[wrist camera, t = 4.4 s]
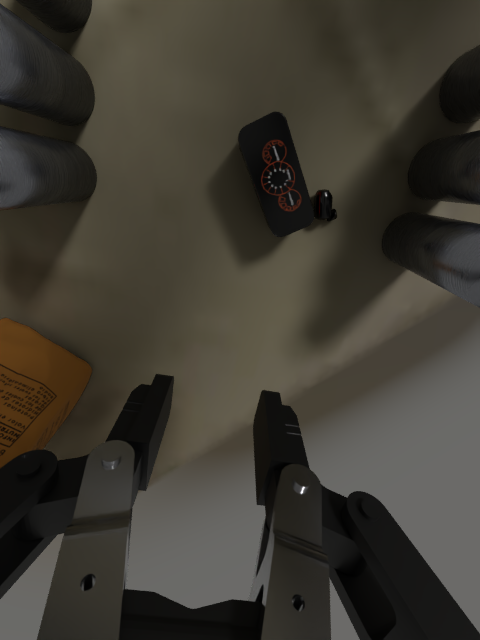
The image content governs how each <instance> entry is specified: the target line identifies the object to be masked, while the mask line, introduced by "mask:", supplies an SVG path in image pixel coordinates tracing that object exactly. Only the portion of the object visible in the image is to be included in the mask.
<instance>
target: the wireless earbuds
mask: <svg viewBox="0 0 480 640" xmlns="http://www.w3.org/2000/svg"><path fill="white" fill-rule="evenodd" d="M238 141H239V148H240V151H241V154H242V156H243V159H244V162H245V165H246V167H247V170H248V173H249V175H250V178H251V181H252V184H253V186H254V189H255V192H256V194H257V197H258V200H259V203H260V205H261V208H262V211H263V213H264V216H265V219H266V222H267V224H268V226H269V228H270V230H271V231H272V233H273V234H274V235H275V236H277V237H283V236H286V235H288V234H291V233H293V232H295V231H298V230H300V229H302V228H305V227H307V226H309V225H310V224H311V223H312V222H313V220H314V217H315V218H316V219H319V220H325V219H327V221H332V220H334V219H336V218H337V212H336V210H335V209H332V195H331V193H330V192H329V190H325V189H324V190H318V191H317V193H316V195H315V197H314V210H313V207H312V204H311V200H310V197H309V194H308V190H307V187H306V184H305V180H304V177H303V174H302V170H301V167H300V164H299V160H298V157H297V153H296V150H295V147H294V143H293V140H292V137H291V133H290V130H289V127H288V123H287V120H286V118H285V116H284V115H283V114H282V113H280V112H272V113H270V114H268V115H266V116H264V117H262V118H260V119H258V120H256V121H254V122H252V123H250V124H248V125H246V126H245V127H243V128H242V129H241V131H240V133H239V137H238Z"/></svg>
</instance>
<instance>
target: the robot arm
mask: <svg viewBox="0 0 480 640" xmlns="http://www.w3.org/2000/svg"><path fill="white" fill-rule="evenodd" d="M173 384H174V376H168V375H161V374H156V375H155V378H154V380H153V382H152V384H151V385H145V384H141V385H139V386H138V387H137V388H136V389H134V390H133V391H132V392H131V394H130V396H129V398H128V400H127V403H126V404H125V405H124V407H123V410H122V411H121V413H120V415H119V417H118V419H117V421H116V423H115V425H114V426H113V428H112V430H111V432H110V434H109V436H108V438H107V440H106V441H105V442H104V443H102V444H100V445H98V446H97V447H95V448H94V449H93V450H92V452H91V453H90V454H89V455H86V456H83V457H78V458H72V459H66V460H59V461H57V458H56V456H55V455H54V454H53V453H52V452H50V451H47V450H32V451H28V452H25V453H23V454H20V455H18V456H17V457H15V458H13V459H12V460H11V461H9V462H8V463H7V464H5V465H4V466H3V467H1V468H0V599H1V598H2V597H3V595H4V594H5V593H6V592H7V591H8V590H9V589H10V588H11V586H12V585H13V584H14V583H15V582H16V581H17V580H18V579H19V577H20V576H21V575H22V574H23V573H24V572H25V571H26V570H27V568H28V567H29V566H30V565H31V564H32V563H33V562H34V561H35V559H36V558H37V557H38V556H39V555H40V554H41V553H42V552H43V550H44V549H45V548H46V547H47V546H48V545H49V544H50V542H51V541H52V540H53V539H54V538H55V537H56V536H57V535H58V534H62V533H64V536H63V540H62V544H61V548H60V551H59V555H58V559H57V563H56V567H55V571H54V575H53V578H52V582H51V586H50V590H49V594H48V598H47V602H46V606H45V609H44V614H43V617H42V621H41V625H40V629H39V633H38V637H37V640H331V624H330V623H331V622H330V584H329V583H330V581H329V577H330V579H331V581H332V583H333V585H334V587H335V589H336V591H337V593H338V596H339V597H340V600H341V602H342V604H343V606H344V608H345V610H346V612H347V614H348V616H349V618H350V620H351V622H352V624H353V626H354V628H355V630H356V632H357V634H358V637H359V638H360V640H480V634H479V632H478V631H477V630H476V628H475V627H474V625H473V624H472V623H471V621H470V620H469V619H468V618H467V616H466V615H465V613H464V612H463V611H462V609H461V608H460V607H459V605H458V604H457V603H456V601H455V600H454V599H453V597H452V596H451V595H450V593H449V592H448V591H447V589H446V588H445V587H444V585H443V584H442V583H441V581H440V580H439V579H438V577H437V576H436V575H435V573H434V572H433V571H432V569H431V568H430V567H429V565H428V564H427V563H426V561H425V560H424V559H423V557H422V556H421V555H420V553H419V552H418V550H417V549H416V548H415V547H414V545H413V544H412V542H411V541H410V540H409V539H408V537H407V536H406V535H405V533H404V532H403V530H402V529H401V528H400V526H399V525H398V524H397V522H396V521H395V520H394V518H393V517H392V516H391V514H390V513H389V512H388V510H387V509H386V508H385V506H384V505H383V504H382V503H381V502H380V501H379V500H378V499H376V498H375V497H374V496H372V495H370V494H368V493H365V492H361V491H356V492H353V493H351V494H350V495H349V496H348V498H346V497H344V496H342V495H340V494H337V493H335V492H333V491H331V490H329V489H327V488H325V487H324V486H322V485H321V484H320V481H319V479H318V477H317V476H316V475H315V474H314V472H312V471H311V470H310V468H309V465H308V461H307V457H306V452H305V448H304V445H303V440H302V436H301V431H300V428H299V423H298V419H297V415H296V414H295V413H294V411H293V410H292V408H291V407H290V406H285V405H282V402H281V397H280V393H279V392H272V391H266V390H262V392H261V395H260V399H259V403H258V406H257V410H256V414H255V418H254V425H253V436H254V437H253V438H254V457H255V478H256V497H257V498H256V499H257V505H264V506H265V510H266V516H265V519H264V522H263V527H262V533H261V538H260V544H259V550H258V556H257V561H256V567H255V573H254V578H253V583H252V587H251V592H250V595H249V599H248V601H243V600H228V601H224V602H220V603H216V604H213V605H209V606H205V607H201V608H197V609H190V608H187V607H185V606H183V605H181V604H179V603H177V602H174V601H172V600H170V599H168V598H166V597H163V596H161V595H159V594H157V593H155V592H149V591H138V590H128V589H127V588H126V587H127V572H128V559H129V546H130V533H131V520H132V507H133V504H134V502H135V499H136V496H137V493H138V490H143V491H146V489H147V486H148V483H149V480H150V476H151V473H152V470H153V467H154V463H155V460H156V457H157V454H158V450H159V447H160V444H161V441H162V438H163V434H164V431H165V428H166V425H167V421H168V418H169V414H170V409H171V402H172V393H173Z"/></svg>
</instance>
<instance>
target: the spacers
mask: <svg viewBox="0 0 480 640" xmlns="http://www.w3.org/2000/svg"><path fill="white" fill-rule="evenodd" d="M16 1H17V2H19V3H20V4H21V5H22V6H24V7H25V8H26V9H27V10H29V11H30V12H31V13H32V14H34V15H35V16H36V17H37V18H39V19H40V20H41V21H42V22H44V23H45V24H46V25H47V26H49V27H50V28H52V29H54V30H56V31H59V32H64V33H70V32H74V31H76V30H78V29H79V28H81V27H82V26H83V25H84V24H85V22H86V21H87V19H88V17H89V14H90V11H91V6H92V0H16ZM94 102H95V94H94V88H93V84H92V81H91V79H90V76H89V75H88V73H87V71H86V70H85V68H84V67H83V66H82V65H81V63H80V62H79V61H77V60H76V59H75V58H74V57H72V56H71V55H70V54H68V53H67V52H65V51H64V50H63V49H61V48H60V47H59V46H57V45H56V44H55V43H53V42H52V41H50V40H49V39H48V38H46V37H45V36H44V35H42V34H41V33H40V32H38V31H37V30H35V29H34V28H33V27H31V26H30V25H29V24H27V23H26V22H25V21H23V20H22V19H20V18H19V17H18V16H16V15H15V14H14V13H12V12H11V11H10V10H8V9H7V8H5V7H4V6H3V5H1V4H0V104H1V105H5V106H8V107H11V108H14V109H17V110H20V111H23V112H26V113H30V114H33V115H36V116H39V117H42V118H45V119H48V120H51V121H55V122H58V123H61V124H64V125H69V126H75V125H79V124H81V123H83V122H85V121H86V120H87V119H88V118H89V116H90V115H91V113H92V111H93V107H94ZM440 106H441V109H442V111H443V113H444V115H445V116H446V117H447V118H448V119H449V120H451V121H453V122H456V123H466V122H471V121H474V120H478V119H480V45H478V46H476V47H475V48H473V49H471V50H469V51H468V52H466V53H464V54H463V55H461V56H460V57H459V58H458V59H457V60H456V61H455V62H454V63H453V64H452V65H451V67H450V68H449V70H448V71H447V73H446V75H445V77H444V79H443V82H442V85H441V89H440ZM96 182H97V175H96V170H95V166H94V164H93V162H92V160H91V158H90V157H89V156H88V154H87V153H86V152H85V151H84V150H83V149H82V148H80V147H79V146H77V145H76V144H74V143H71V142H67V141H63V140H59V139H54V138H50V137H46V136H41V135H37V134H32V133H28V132H24V131H19V130H15V129H11V128H6V127H2V126H0V210H8V209H16V208H25V207H33V206H42V205H50V204H58V203H67V202H75V201H82V200H84V199H86V198H88V197H89V196H90V195H91V194H92V193H93V191H94V189H95V187H96ZM408 183H409V187H410V189H411V191H412V192H413V193H414V194H415V195H416V196H417V197H419V198H421V199H425V200H435V201H445V202H455V203H465V204H476V205H480V130H479V131H474V132H470V133H465V134H461V135H456V136H451V137H447V138H442V139H438V140H434V141H432V142H430V143H428V144H427V145H425V146H424V147H423V148H422V149H421V150H420V151H419V152H418V153H417V154H416V156H415V157H414V159H413V160H412V163H411V165H410V168H409V172H408ZM382 248H383V252H384V254H385V255H386V257H387V258H388V259H390V260H391V261H393V262H395V263H397V264H399V265H400V266H402V267H404V268H406V269H408V270H410V271H412V272H414V273H415V274H417V275H419V276H421V277H423V278H425V279H427V280H429V281H430V282H432V283H434V284H436V285H438V286H440V287H442V288H444V289H445V290H447V291H449V292H451V293H453V294H455V295H457V296H459V297H461V298H462V299H464V300H466V301H468V302H470V303H472V304H474V305H476V306H478V307H480V224H477V223H472V222H466V221H460V220H455V219H449V218H444V217H438V216H432V215H427V214H421V213H407V214H404V215H401V216H399V217H398V218H396V219H395V220H394V221H393V222H392V223H391V224H390V225H389V226H388V227H387V229H386V231H385V233H384V235H383V239H382Z"/></svg>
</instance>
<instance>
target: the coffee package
mask: <svg viewBox="0 0 480 640" xmlns="http://www.w3.org/2000/svg"><path fill="white" fill-rule="evenodd" d="M91 373H92V369H91V367H90V365H89V364H88V363H87V362H86V361H84V360H82V359H80V358H78V357H76V356H75V355H73V354H72V353H70V352H69V351H67V350H65V349H64V348H62V347H60V346H58V345H56V344H54V343H53V342H51V341H50V340H48V339H46V338H45V337H43V336H42V335H40V334H39V333H38V332H36V331H35V330H33V329H32V328H30V327H28V326H26V325H23V324H20V323H17V322H15V321H12V320H10V319H8V318H3V319H1V320H0V468H1V467H3V466H4V465H5V464H7V463H8V462H9V461H11V460H12V459H13V458H15V457H17V456H18V455H20V454H23V453H25V452H28V451H32V450H42V449H43V448H44V447H45V446H46V444H47V443H48V442H49V440H50V439H51V438H52V436H53V435H54V434H55V433H56V431H57V430H58V429H59V427H60V426H61V425H62V423H63V422H64V421H65V419H66V418H67V416H68V415H69V414H70V412H71V411H72V409H73V408H74V406H75V404H76V403H77V401H78V400H79V398H80V396H81V394H82V393H83V391H84V389H85V387H86V385H87V383H88V381H89V378H90V376H91Z"/></svg>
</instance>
